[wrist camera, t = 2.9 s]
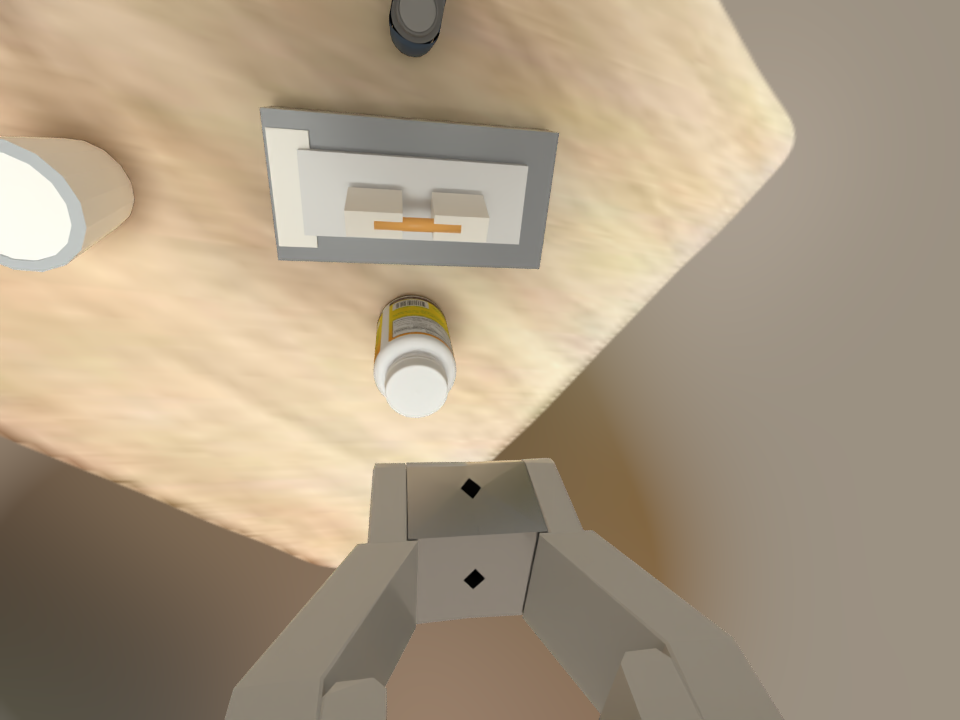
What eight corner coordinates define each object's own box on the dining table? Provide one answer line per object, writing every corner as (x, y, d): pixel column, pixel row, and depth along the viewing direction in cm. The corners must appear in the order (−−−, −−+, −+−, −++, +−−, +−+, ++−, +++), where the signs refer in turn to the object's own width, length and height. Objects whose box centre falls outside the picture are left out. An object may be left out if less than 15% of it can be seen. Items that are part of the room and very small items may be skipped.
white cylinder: (118, 123, 29) (46, 130, 23) (161, 234, 33) (107, 266, 27) (-4, 130, 29) (-112, 140, 22) (53, 243, 32) (-28, 278, 26)
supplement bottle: (409, 366, 40) (412, 442, 32) (362, 322, 38) (351, 391, 29) (460, 327, 39) (478, 394, 31) (415, 278, 37) (421, 336, 28)
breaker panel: (271, 106, 30) (255, 108, 27) (546, 130, 33) (563, 134, 30) (287, 247, 34) (275, 264, 31) (529, 256, 37) (542, 273, 34)
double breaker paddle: (347, 186, 28) (343, 211, 26) (483, 195, 30) (489, 218, 28) (349, 212, 30) (346, 237, 27) (480, 218, 31) (486, 243, 29)
